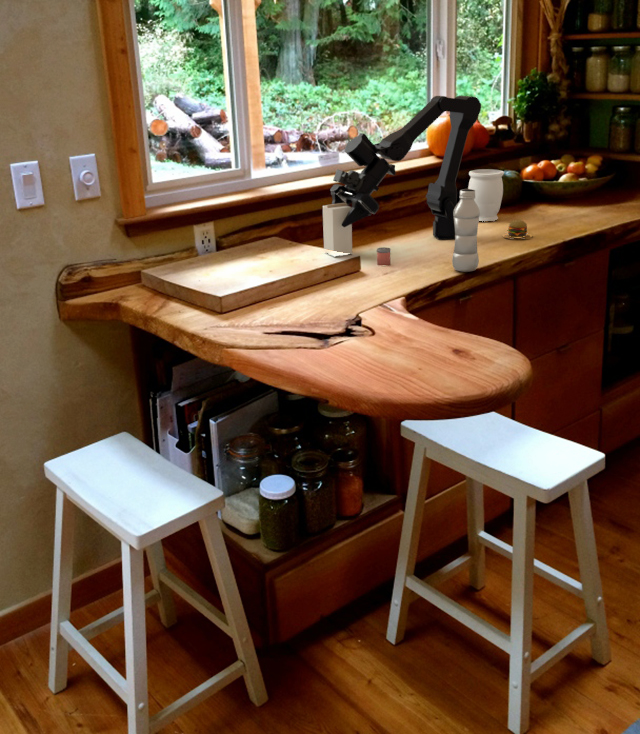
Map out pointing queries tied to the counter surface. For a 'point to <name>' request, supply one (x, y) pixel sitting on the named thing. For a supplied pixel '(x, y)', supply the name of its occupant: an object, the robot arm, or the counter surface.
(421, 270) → the counter surface
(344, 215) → the tall white block
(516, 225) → the hamburger
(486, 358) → the counter surface
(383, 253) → the tin
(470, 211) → the plastic bottle
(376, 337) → the counter surface
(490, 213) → the jar
